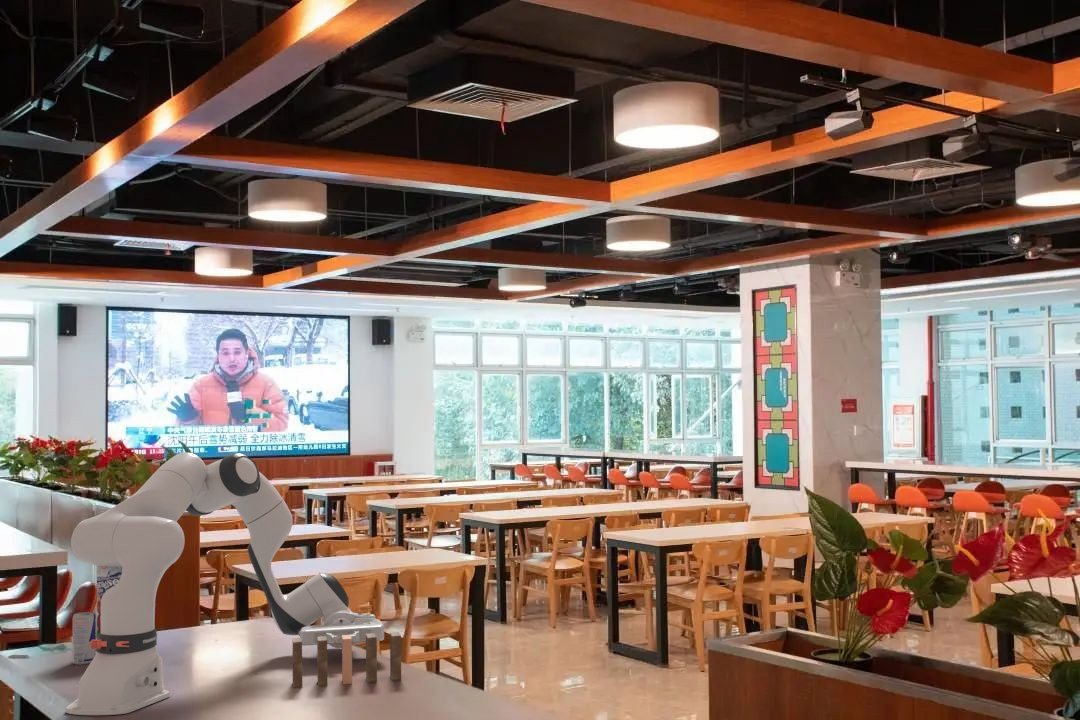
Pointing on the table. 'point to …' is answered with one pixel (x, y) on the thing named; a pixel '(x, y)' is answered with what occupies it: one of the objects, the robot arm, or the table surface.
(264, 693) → the table surface
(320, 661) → the domino
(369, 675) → the domino
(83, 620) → the energy drink
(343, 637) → the domino
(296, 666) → the domino
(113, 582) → the juice carton
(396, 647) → the domino
